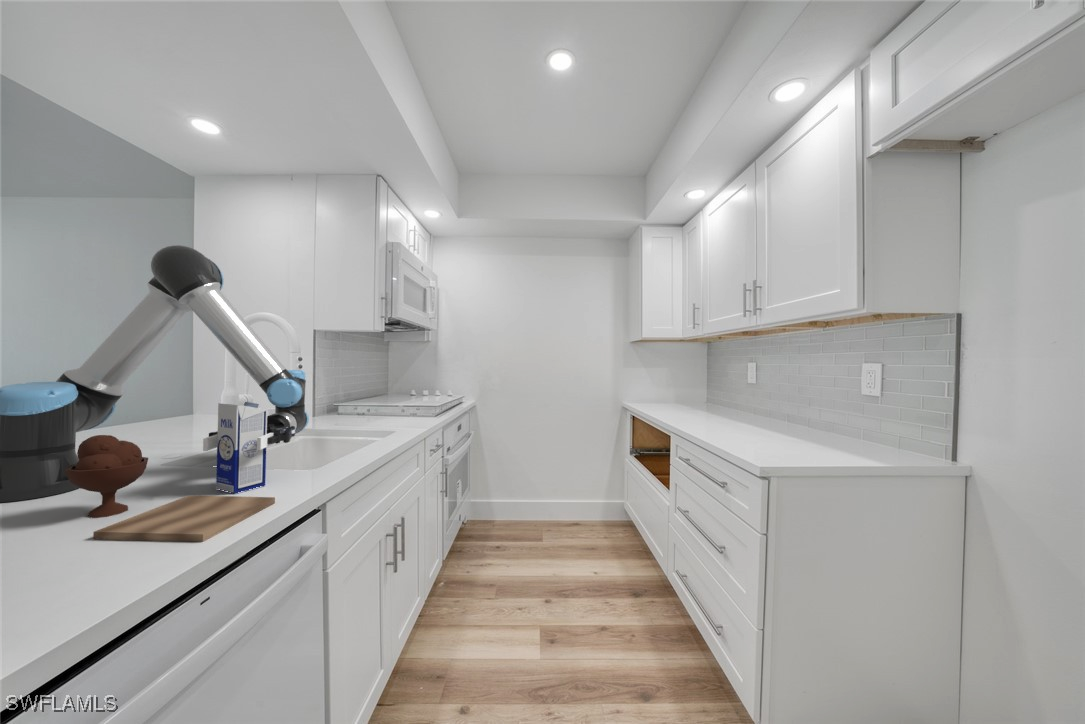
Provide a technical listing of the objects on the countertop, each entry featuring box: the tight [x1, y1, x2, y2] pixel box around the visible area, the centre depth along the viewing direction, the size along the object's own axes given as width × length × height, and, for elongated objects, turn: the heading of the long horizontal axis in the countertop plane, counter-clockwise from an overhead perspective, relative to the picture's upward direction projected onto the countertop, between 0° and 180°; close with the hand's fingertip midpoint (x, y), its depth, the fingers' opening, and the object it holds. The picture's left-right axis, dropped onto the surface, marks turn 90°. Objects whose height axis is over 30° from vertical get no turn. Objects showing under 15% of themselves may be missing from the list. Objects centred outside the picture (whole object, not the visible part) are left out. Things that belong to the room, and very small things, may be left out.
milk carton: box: [215, 401, 268, 494], centre depth 93 cm, size 7×7×20 cm
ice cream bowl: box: [65, 434, 149, 519], centre depth 77 cm, size 11×11×15 cm
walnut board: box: [92, 494, 276, 543], centre depth 75 cm, size 18×18×1 cm
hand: (232, 444), depth 89 cm, fingers open, 10 cm apart
